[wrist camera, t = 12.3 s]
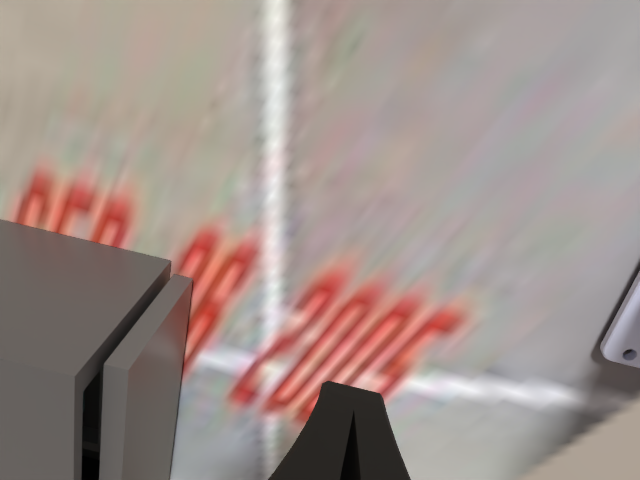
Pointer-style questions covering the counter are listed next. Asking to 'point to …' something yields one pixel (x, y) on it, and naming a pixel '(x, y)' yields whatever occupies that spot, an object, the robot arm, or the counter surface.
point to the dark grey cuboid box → (60, 341)
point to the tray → (140, 392)
